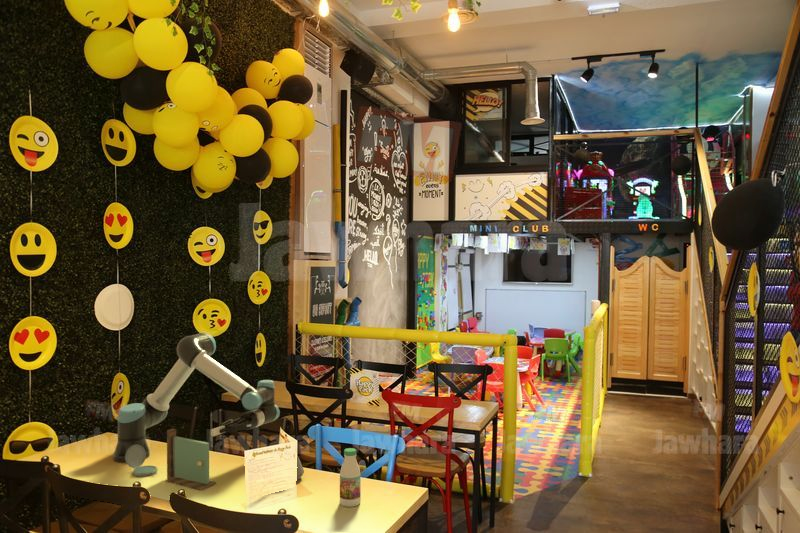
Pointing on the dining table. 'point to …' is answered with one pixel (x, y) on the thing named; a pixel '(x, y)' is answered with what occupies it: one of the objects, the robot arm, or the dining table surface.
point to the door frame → (170, 477)
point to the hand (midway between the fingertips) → (212, 432)
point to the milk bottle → (350, 480)
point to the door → (191, 459)
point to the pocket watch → (138, 461)
